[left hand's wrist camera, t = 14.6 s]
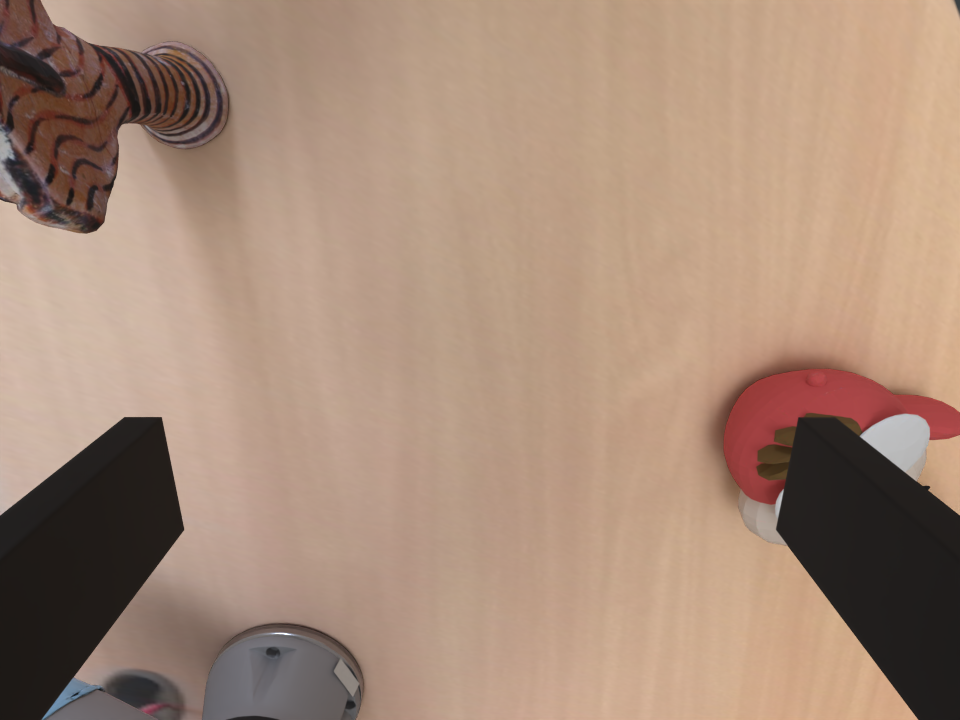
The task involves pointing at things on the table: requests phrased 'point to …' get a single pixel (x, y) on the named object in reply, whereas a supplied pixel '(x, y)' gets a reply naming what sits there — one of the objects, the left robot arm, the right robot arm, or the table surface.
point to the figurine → (89, 112)
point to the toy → (821, 393)
